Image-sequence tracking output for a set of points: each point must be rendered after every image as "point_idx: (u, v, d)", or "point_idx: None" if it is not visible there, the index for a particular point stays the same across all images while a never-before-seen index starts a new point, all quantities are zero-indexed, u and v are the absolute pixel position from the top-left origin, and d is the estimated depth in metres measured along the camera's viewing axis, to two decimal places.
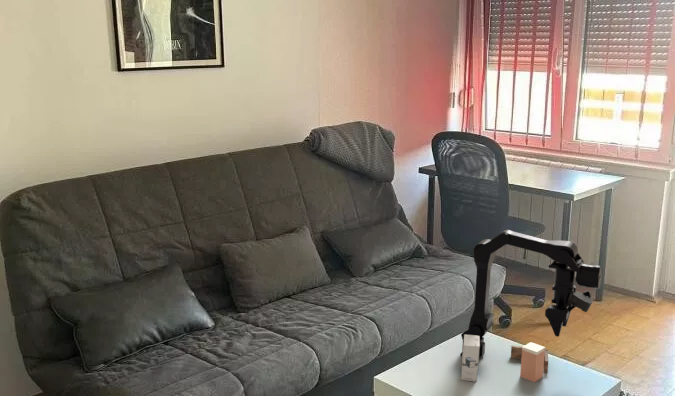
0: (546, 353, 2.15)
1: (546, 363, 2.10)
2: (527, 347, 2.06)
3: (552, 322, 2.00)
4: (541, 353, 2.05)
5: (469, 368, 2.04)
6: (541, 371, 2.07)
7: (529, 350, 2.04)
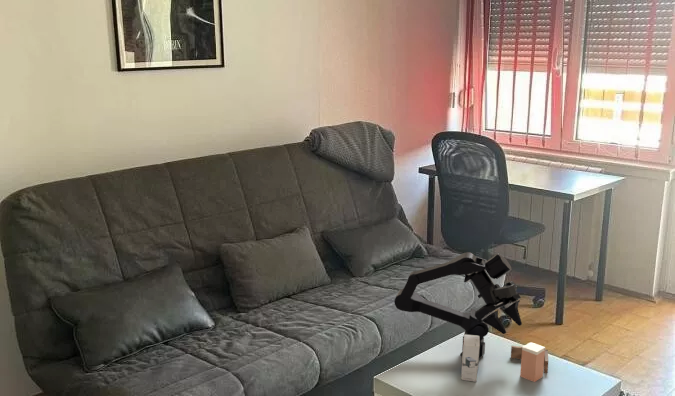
0: (546, 353, 2.15)
1: (546, 363, 2.10)
2: (527, 347, 2.06)
3: (491, 323, 2.09)
4: (541, 353, 2.05)
5: (469, 368, 2.04)
6: (541, 371, 2.07)
7: (529, 350, 2.04)
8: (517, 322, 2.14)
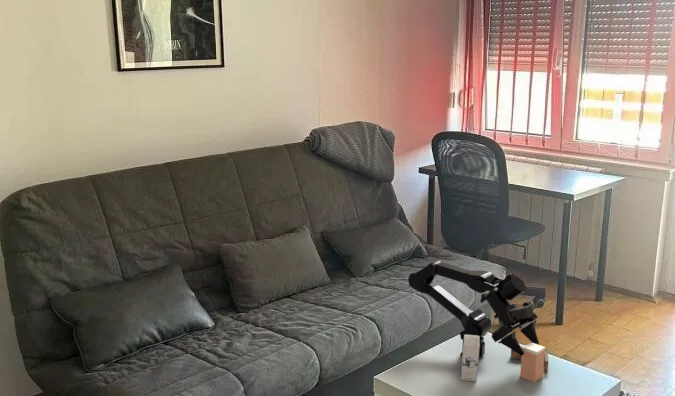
0: (546, 353, 2.15)
1: (546, 363, 2.10)
2: (527, 347, 2.06)
3: (508, 344, 2.05)
4: (541, 353, 2.05)
5: (469, 368, 2.04)
6: (541, 371, 2.07)
7: (529, 350, 2.04)
8: None
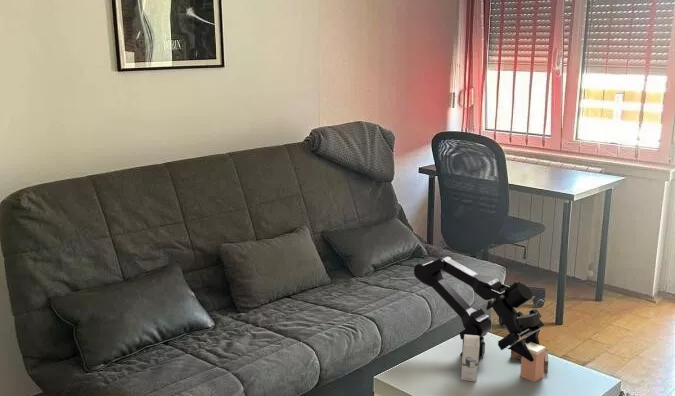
0: (546, 353, 2.15)
1: (546, 363, 2.10)
2: (527, 347, 2.06)
3: (518, 351, 2.05)
4: (541, 353, 2.05)
5: (469, 368, 2.04)
6: (541, 371, 2.07)
7: (529, 350, 2.04)
8: None
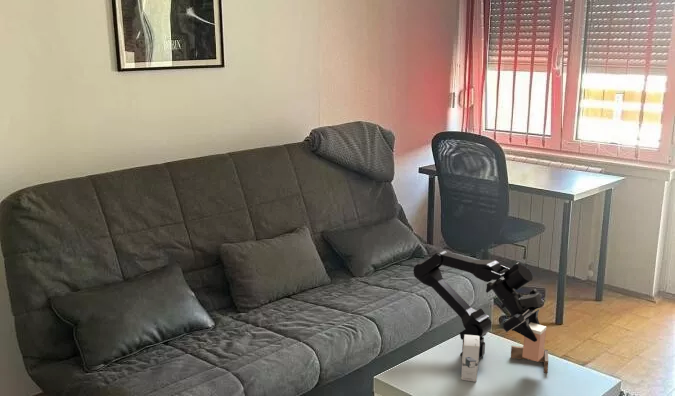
0: (546, 353, 2.15)
1: (546, 363, 2.10)
2: (530, 327, 2.06)
3: (521, 331, 2.05)
4: (543, 333, 2.06)
5: (469, 368, 2.04)
6: (542, 350, 2.08)
7: (532, 330, 2.05)
8: None
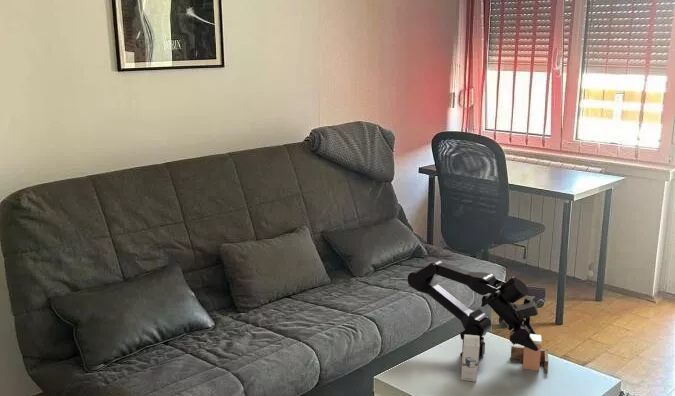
0: (546, 353, 2.15)
1: (546, 363, 2.10)
2: None
3: (523, 343, 2.08)
4: None
5: (469, 368, 2.04)
6: None
7: None
8: None
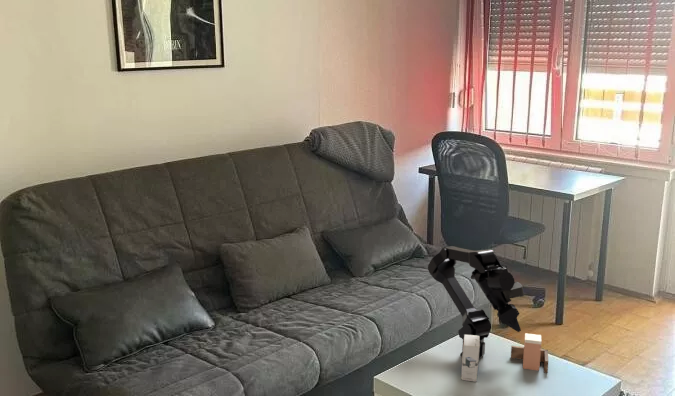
0: (546, 353, 2.15)
1: (546, 363, 2.10)
2: (529, 339, 2.12)
3: (509, 323, 2.09)
4: None
5: (469, 368, 2.04)
6: None
7: (533, 341, 2.11)
8: None
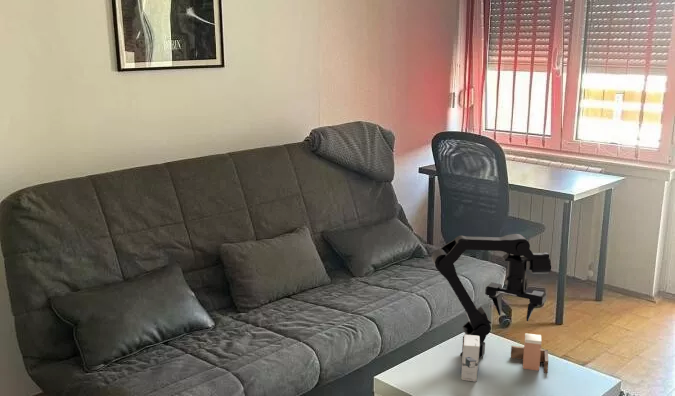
0: (546, 353, 2.15)
1: (546, 363, 2.10)
2: (529, 339, 2.12)
3: (532, 309, 2.15)
4: None
5: (469, 368, 2.04)
6: None
7: (533, 341, 2.11)
8: (500, 312, 2.22)
